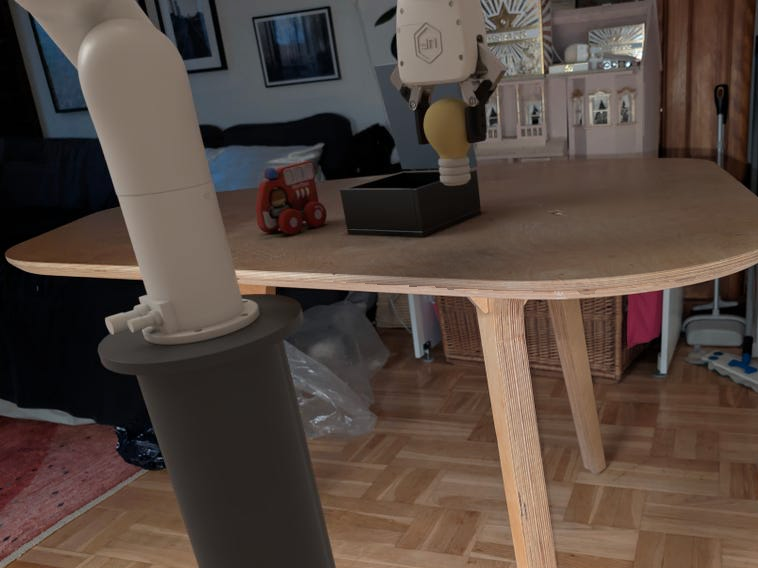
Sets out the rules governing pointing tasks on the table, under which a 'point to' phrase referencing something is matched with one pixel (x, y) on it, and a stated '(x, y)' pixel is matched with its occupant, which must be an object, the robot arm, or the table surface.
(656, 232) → the table surface
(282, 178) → the toy fire truck
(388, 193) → the compartment
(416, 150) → the lid
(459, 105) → the light bulb
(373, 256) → the table surface
